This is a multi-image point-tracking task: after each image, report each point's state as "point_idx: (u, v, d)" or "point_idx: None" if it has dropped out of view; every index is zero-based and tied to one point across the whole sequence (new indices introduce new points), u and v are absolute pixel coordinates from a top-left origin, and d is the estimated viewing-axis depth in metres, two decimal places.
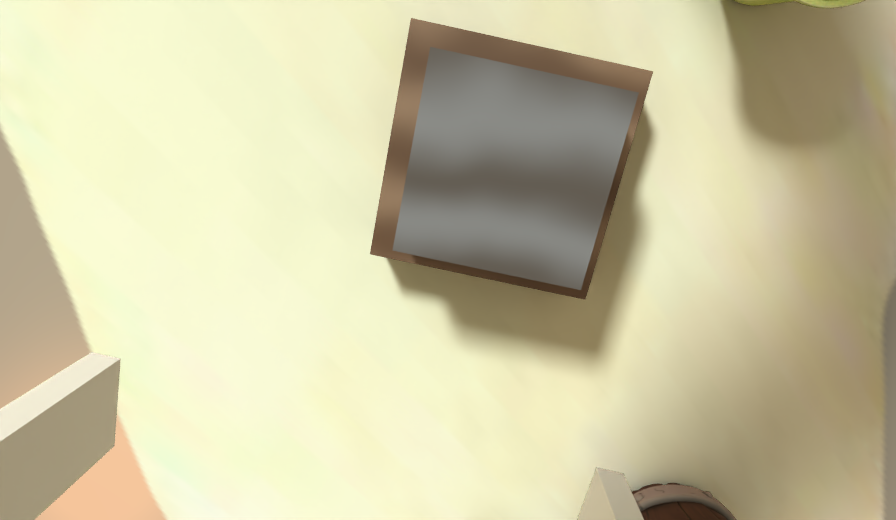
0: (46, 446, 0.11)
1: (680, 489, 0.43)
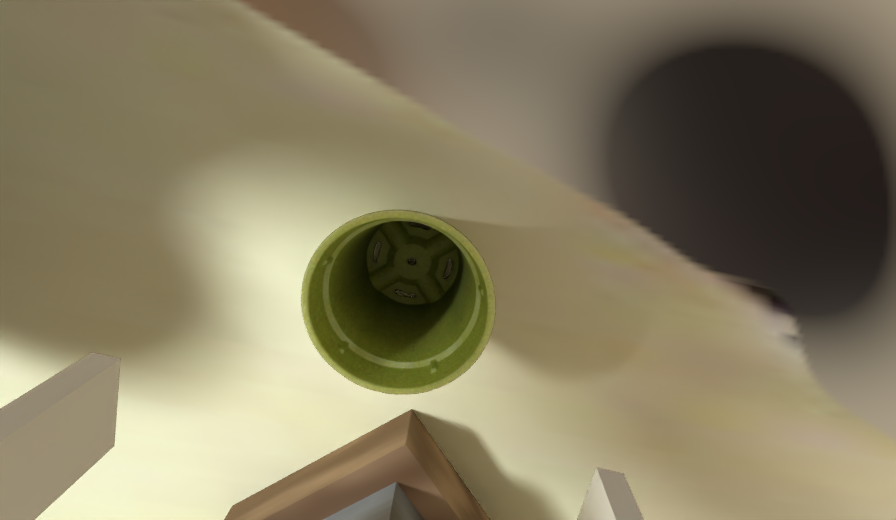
0: (46, 446, 0.11)
1: None
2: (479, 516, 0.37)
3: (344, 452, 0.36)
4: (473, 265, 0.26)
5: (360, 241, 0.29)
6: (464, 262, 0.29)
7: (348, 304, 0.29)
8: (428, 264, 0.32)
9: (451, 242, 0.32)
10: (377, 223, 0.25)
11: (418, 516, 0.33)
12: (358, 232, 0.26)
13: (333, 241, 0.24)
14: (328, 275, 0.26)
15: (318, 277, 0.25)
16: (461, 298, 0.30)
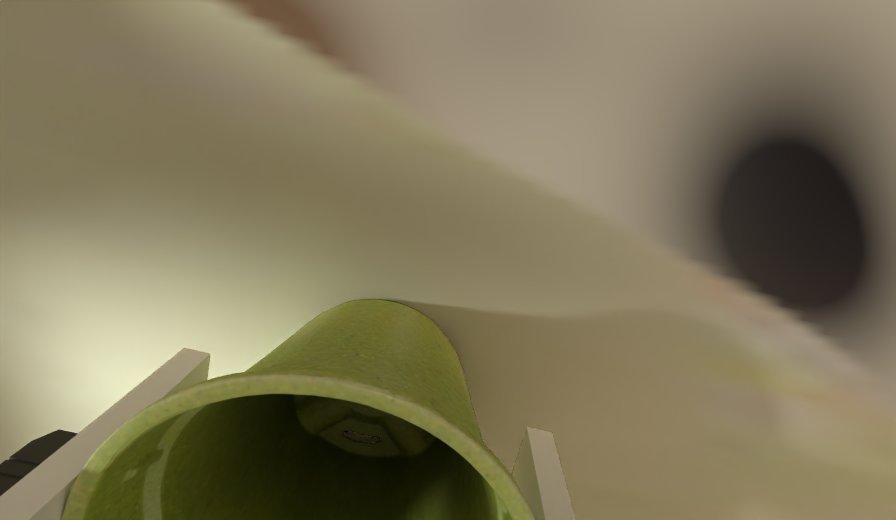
0: None
1: None
2: None
3: None
4: None
5: None
6: None
7: (230, 505, 0.14)
8: None
9: None
10: None
11: None
12: None
13: (125, 447, 0.09)
14: (157, 483, 0.11)
15: (120, 505, 0.10)
16: (464, 481, 0.15)
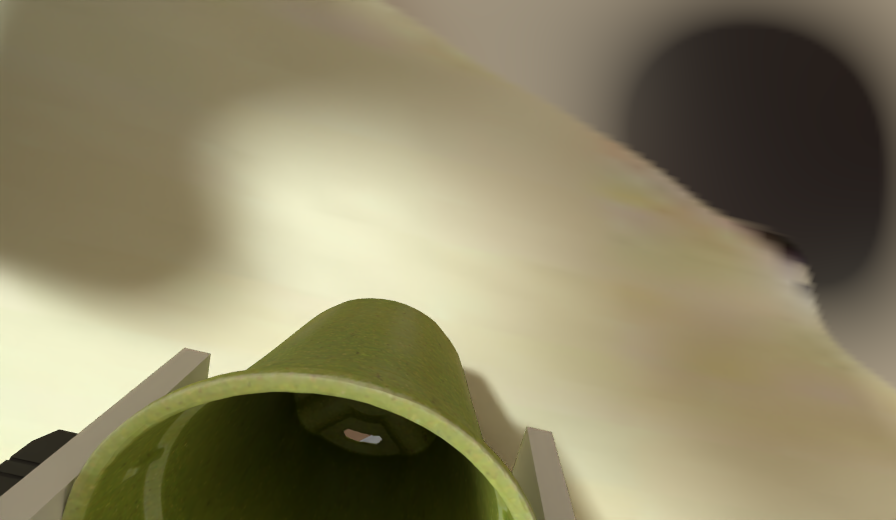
0: None
1: None
2: None
3: None
4: None
5: None
6: None
7: (231, 504, 0.14)
8: None
9: None
10: None
11: None
12: None
13: (126, 445, 0.09)
14: (158, 481, 0.11)
15: (120, 504, 0.10)
16: (464, 480, 0.15)
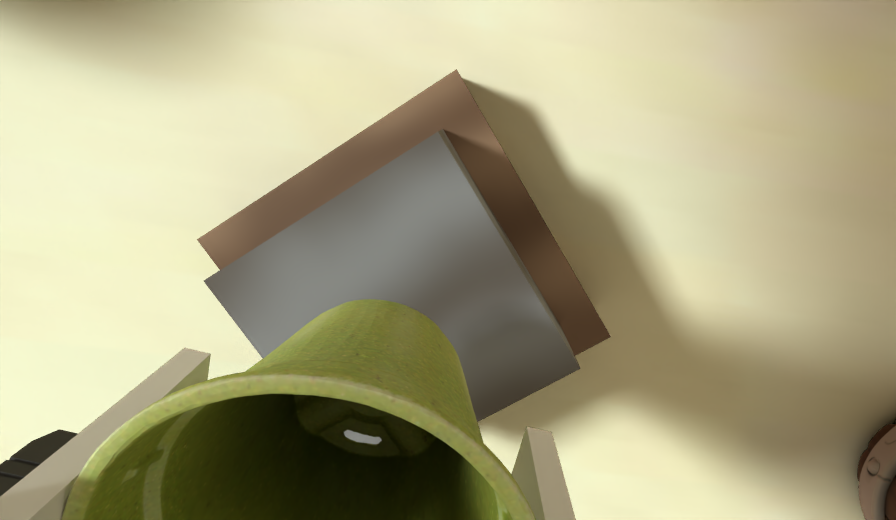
0: None
1: None
2: None
3: None
4: None
5: None
6: None
7: (230, 505, 0.14)
8: None
9: None
10: None
11: (471, 177, 0.25)
12: None
13: (125, 447, 0.09)
14: (157, 483, 0.11)
15: (119, 505, 0.10)
16: (464, 481, 0.15)
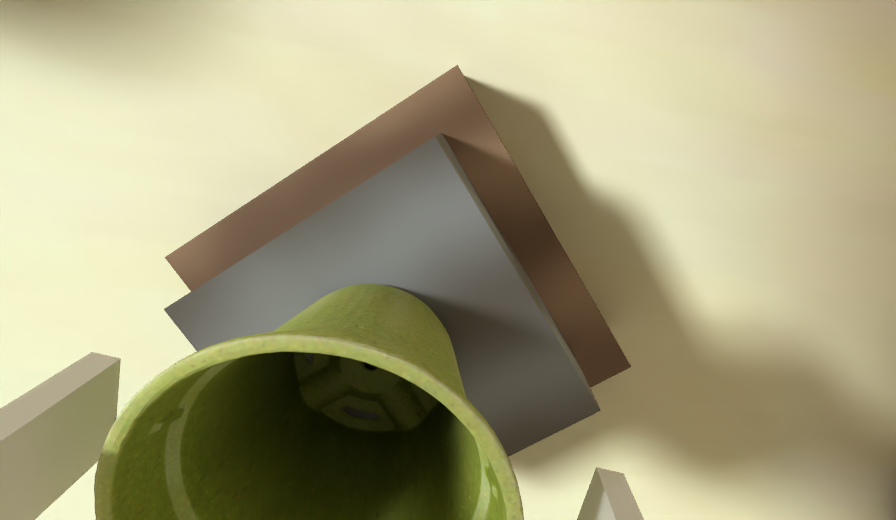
0: (46, 446, 0.11)
1: None
2: None
3: None
4: None
5: None
6: None
7: (240, 467, 0.15)
8: None
9: None
10: None
11: (474, 188, 0.22)
12: (234, 358, 0.12)
13: (155, 399, 0.10)
14: (178, 439, 0.13)
15: (146, 456, 0.12)
16: (453, 449, 0.16)
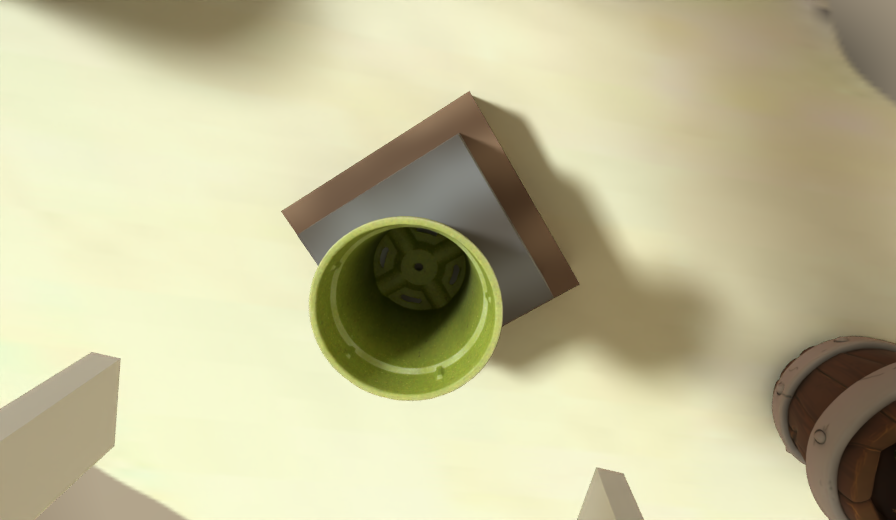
0: (46, 446, 0.11)
1: (811, 354, 0.41)
2: None
3: None
4: (481, 272, 0.26)
5: (368, 246, 0.29)
6: (471, 269, 0.30)
7: (355, 309, 0.29)
8: (435, 270, 0.32)
9: (458, 248, 0.32)
10: (386, 229, 0.25)
11: (479, 167, 0.36)
12: (367, 238, 0.26)
13: (342, 246, 0.24)
14: (336, 280, 0.26)
15: (327, 282, 0.25)
16: (468, 304, 0.30)
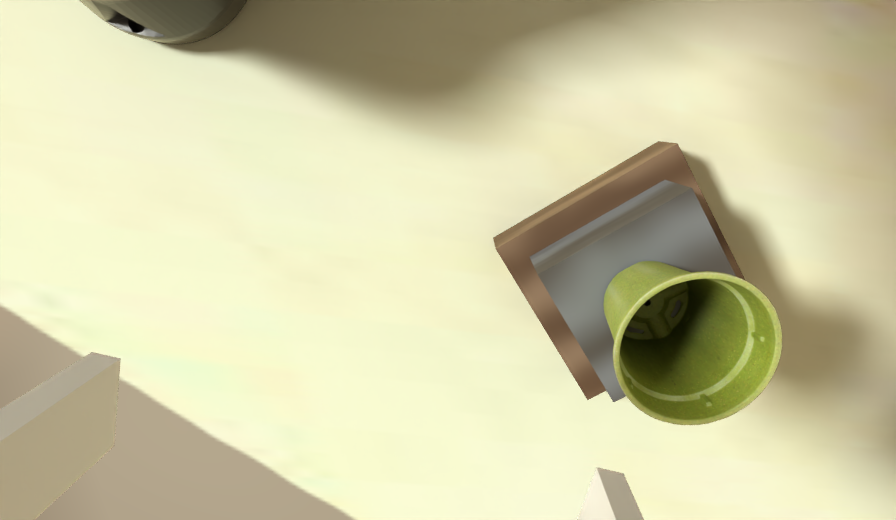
0: (46, 446, 0.11)
1: None
2: None
3: (603, 176, 0.43)
4: (751, 315, 0.30)
5: (624, 288, 0.34)
6: (712, 307, 0.34)
7: None
8: (661, 305, 0.37)
9: (684, 286, 0.36)
10: None
11: None
12: None
13: (651, 297, 0.28)
14: None
15: None
16: (707, 338, 0.34)
